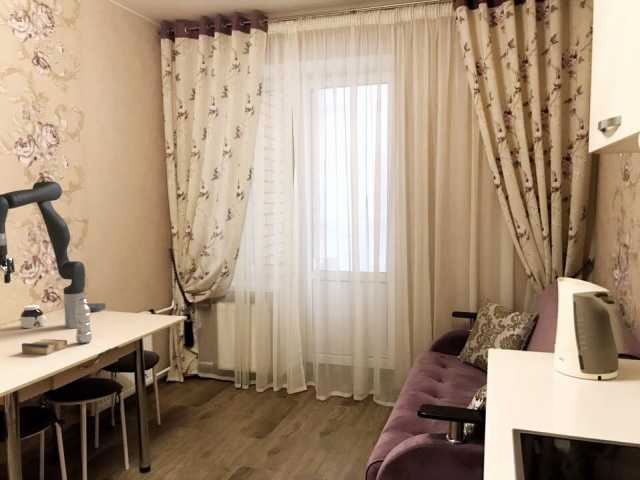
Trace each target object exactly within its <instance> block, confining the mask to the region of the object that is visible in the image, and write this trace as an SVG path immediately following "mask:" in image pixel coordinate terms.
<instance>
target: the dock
mask: <svg viewBox="0 0 640 480" xmlns="http://www.w3.org/2000/svg"><path fill="white" fill-rule="evenodd" d="M66 348H68V340H67V339H55V338H53V339H50V338H42V339H39V340H38V341H33V342H31V343H27V342H23V343H21V354H23V355H38V356H39V355H41V356H42V355H43V356H48V355H50V354H53V353H56V352H58V351H60V350H63V349H66Z"/></svg>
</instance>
